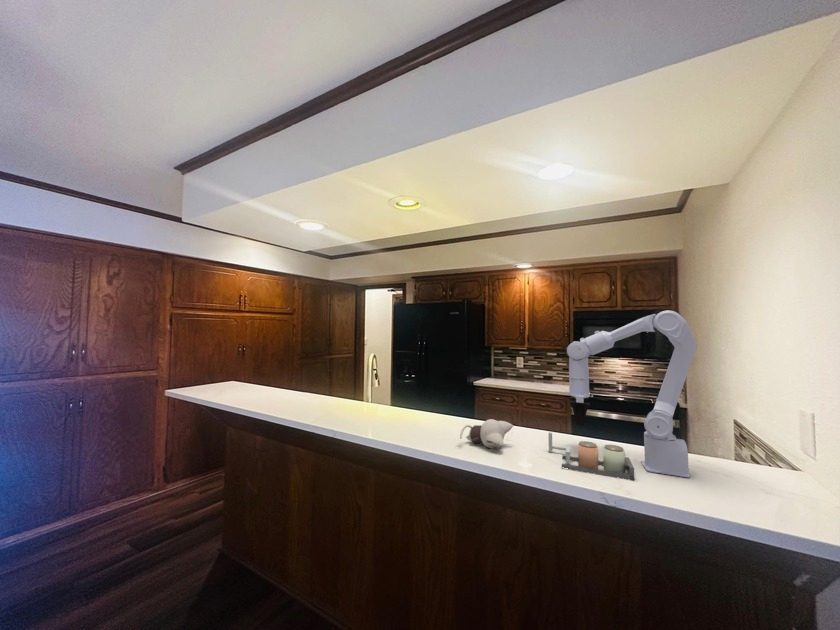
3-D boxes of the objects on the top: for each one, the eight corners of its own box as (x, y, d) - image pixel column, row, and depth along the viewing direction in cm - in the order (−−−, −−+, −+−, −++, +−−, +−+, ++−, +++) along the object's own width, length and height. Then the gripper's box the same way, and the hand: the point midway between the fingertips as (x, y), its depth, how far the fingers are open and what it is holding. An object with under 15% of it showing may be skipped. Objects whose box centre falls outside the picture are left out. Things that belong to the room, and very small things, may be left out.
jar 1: (598, 466, 92) (597, 442, 92) (598, 472, 88) (598, 447, 88) (578, 462, 94) (578, 439, 95) (578, 468, 90) (577, 444, 90)
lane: (629, 468, 91) (628, 457, 91) (634, 480, 83) (634, 468, 83) (562, 458, 98) (562, 448, 98) (561, 468, 90) (561, 457, 90)
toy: (463, 459, 107) (504, 459, 98) (453, 435, 107) (494, 433, 98) (478, 435, 118) (517, 434, 109) (469, 413, 117) (507, 410, 108)
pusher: (570, 453, 101) (569, 434, 102) (570, 467, 90) (569, 445, 91) (548, 450, 104) (548, 431, 104) (546, 463, 93) (546, 442, 93)
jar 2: (623, 470, 90) (623, 446, 90) (626, 477, 85) (625, 451, 86) (602, 466, 92) (602, 443, 92) (604, 473, 87) (604, 448, 88)
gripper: (565, 376, 113) (566, 415, 112) (565, 380, 100) (565, 425, 99) (588, 377, 110) (589, 418, 109) (590, 382, 97) (591, 428, 96)
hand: (579, 422), depth 104 cm, fingers open, 7 cm apart
